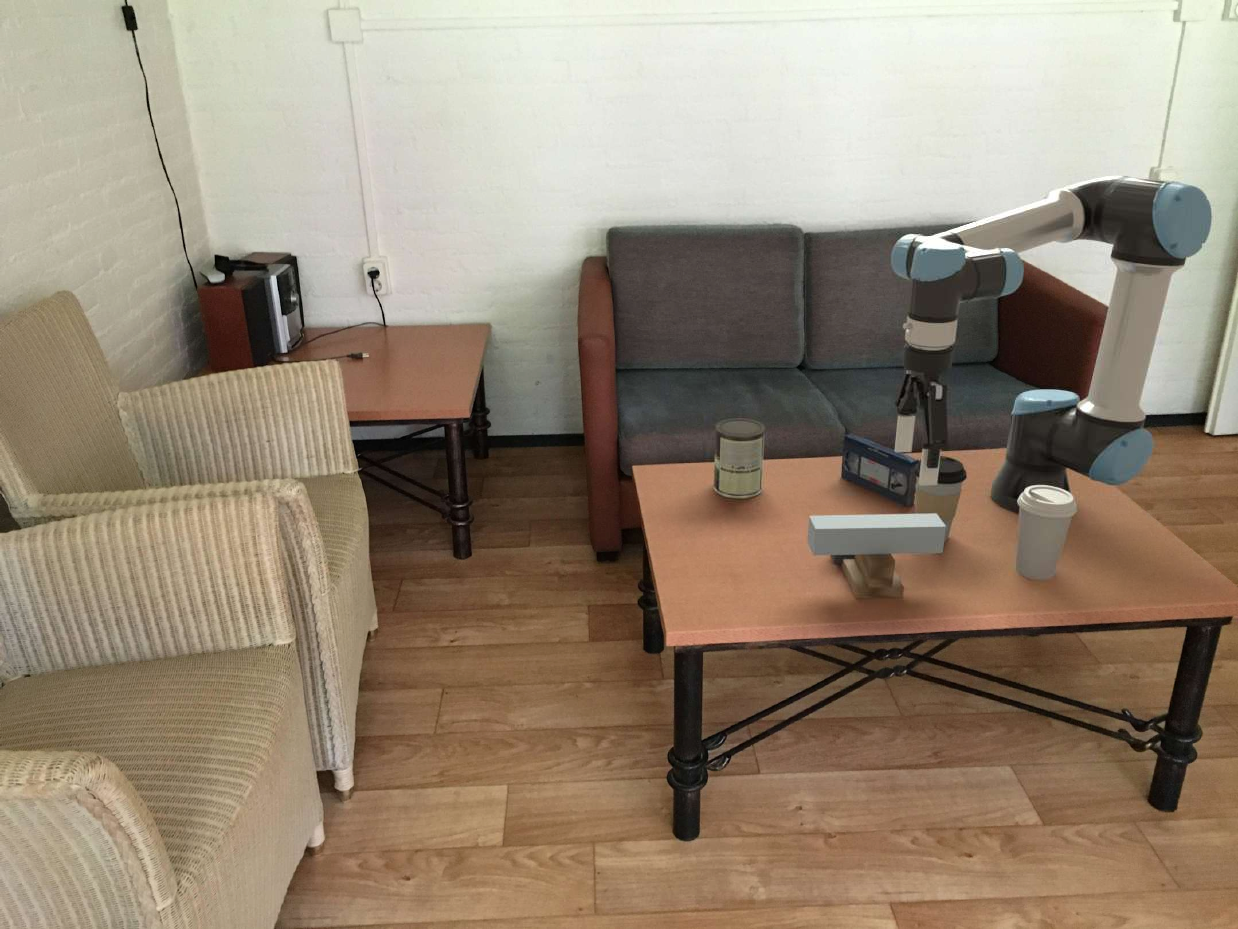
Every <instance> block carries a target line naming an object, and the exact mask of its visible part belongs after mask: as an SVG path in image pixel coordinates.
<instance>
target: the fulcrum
mask: <svg viewBox="0 0 1238 929" xmlns="http://www.w3.org/2000/svg"><path fill="white" fill-rule="evenodd" d="M841 565H842V567H841V569H842V572H843V574H844V576H845V578H846V580H847V582H848V585H849V587H850V588H851V591H852V593H853V596H854V597H855V599H868V598H869V599H871V598H872V599H873V598H875V599H876V598H877V599H878V598H903V597H904V591H905V590H904V589H905V586H904V584H903V583H902V581H901V579H900V577H899V575H898V574H897V573H896V570H895V566H896V560H895V558H894V557H893V554H859V555H855V556H854V559H843V563H842V564H841Z"/></svg>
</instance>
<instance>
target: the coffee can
mask: <svg viewBox="0 0 1238 929" xmlns="http://www.w3.org/2000/svg"><path fill="white" fill-rule="evenodd" d="M714 426H715V427H714V431H715V437H714V438H715V439H714V440H715V441H714V443H715V445H714V470H713V471H714V472H713V473H714V475H713V478H714V479H713V491H714V492H715V493H716V494H718V495H720V496H722V497H725V498H729V499H736V500H737V499H744V500H745V499H749V498H754V497H755V496H756V497H757V496H758V495H760V494H761V493H762V490H763V486H762V485H763V481H762V480H763V468H764V467H763V464H764V447H765V446H764V445H765V433H766V426H765V425H764V423H762V422H760V421H757V420H754V419H750V418H741V417H740V418H738V417H735V418H728V419H723V420H720V421H718V422H717V423H715V425H714Z"/></svg>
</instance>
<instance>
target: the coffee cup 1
mask: <svg viewBox="0 0 1238 929" xmlns="http://www.w3.org/2000/svg"><path fill="white" fill-rule="evenodd" d="M920 467H921V458H920V459H919V463H918V464H916V465H915V469H914V474H915V475H916V476H917V482H916V492H915V501H914V504H915V509H914V510H915V512H914V513H915V514H932V513H937V515H938V516H939V517H940V519H941V520H942V522H943V523H944V524H945V526H946V531H945V539H944V542H945V541H947V540H948V539H949V536H950V532H951V528H952V524H953V520H954V518H955V517H956V513H957V512H956V511H957V510H958V504H959V501H960V498H961V494H962V486H963V482H964V481H965V480H967V477H968V476H967V471H966V469H965V468H964V464H963V463H962V462H961V461H960V460H958V459H955V458H953V457H949V456H945V455H941V456H940V464H939V472H938V480H937V485H919V476H920Z"/></svg>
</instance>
